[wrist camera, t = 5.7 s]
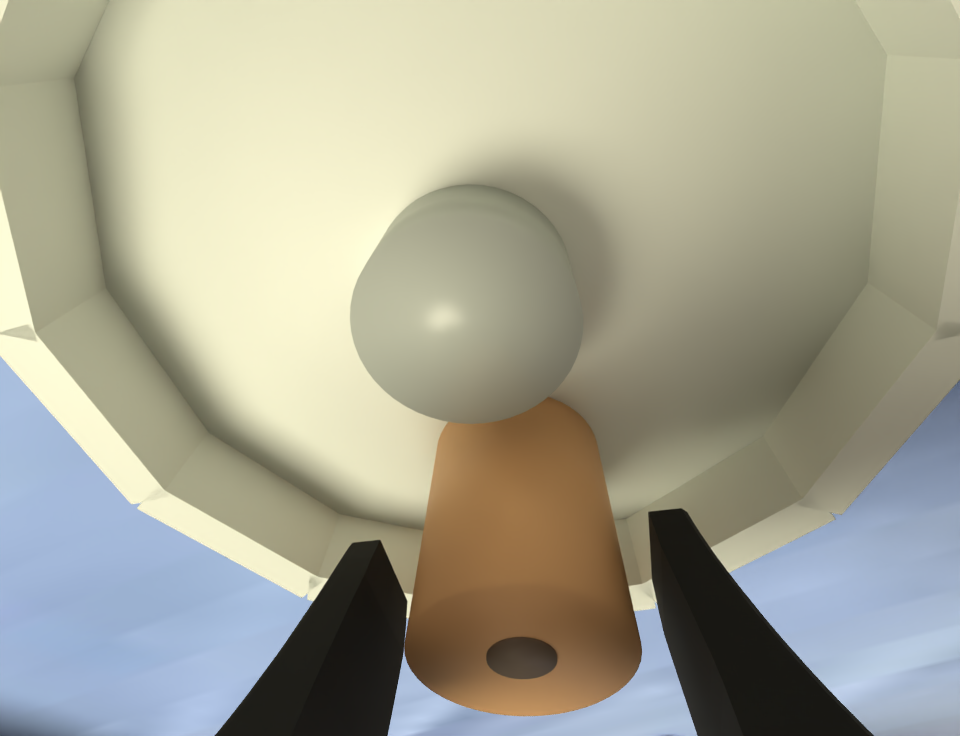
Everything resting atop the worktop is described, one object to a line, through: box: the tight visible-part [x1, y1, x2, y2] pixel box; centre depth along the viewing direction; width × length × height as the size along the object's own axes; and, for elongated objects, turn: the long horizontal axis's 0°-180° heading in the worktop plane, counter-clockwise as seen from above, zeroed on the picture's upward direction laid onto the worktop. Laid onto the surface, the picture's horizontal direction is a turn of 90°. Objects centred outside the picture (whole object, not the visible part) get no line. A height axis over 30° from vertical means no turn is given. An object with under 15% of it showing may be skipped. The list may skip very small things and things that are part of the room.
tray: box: [0, 0, 960, 618], centre depth 10 cm, size 17×17×3 cm
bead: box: [404, 397, 642, 716], centre depth 11 cm, size 4×4×5 cm
